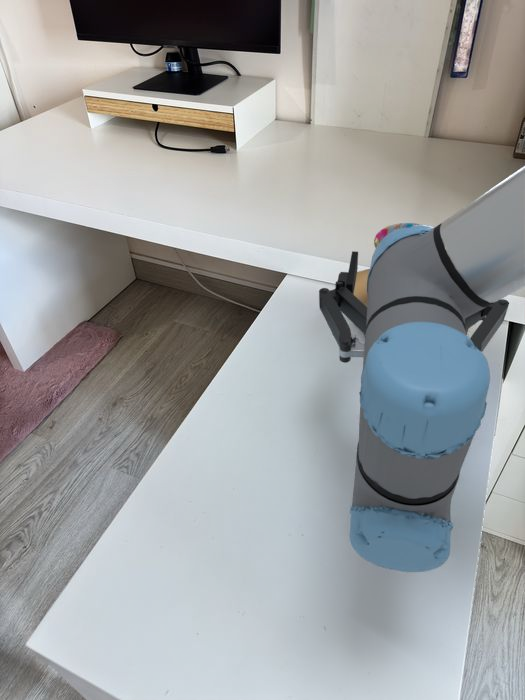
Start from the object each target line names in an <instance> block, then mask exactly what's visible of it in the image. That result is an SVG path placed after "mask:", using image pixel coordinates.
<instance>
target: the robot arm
mask: <svg viewBox="0 0 525 700" xmlns="http://www.w3.org/2000/svg"><path fill="white" fill-rule="evenodd" d="M358 266H359V251H353V250H352V251H351V255H350V261H349V267H348V271H340V272H339V273H338V275H337V276H338V277H337V281H335V283H334V284H335V287H334V289H329V288H326V287H322V288H320V289H319V290H318V301H319V302H318V303H319V304H318V305H319V310H320V312H321V314H322V316H323V318H324V320H325V322H326V323H327V325H328V328H329V329H330V331H331V334H332V336H333V337H334V340H335V342H336V344H337V345H338V348H339V349H338V350H339V351H338V353H339V355H338V356H339V357H338V358H339V362H341V363H345V364H347V363H349V362H350V361H351V360H352V358H363V360H362V361H363V363H362V372H361V376H360V391H359V422H358V442H357V447H356V461H355V468H354V469H355V470H354V481H353V482H354V483H353V492H352V501H351V505H350V507H349V514H350V524H349V541H350V545H351V547H352V549H353V550H354V551H355V553H356V554H357V555H358V556H359V557H361V558H362V559H364V560H365V561H366V562H369V563H370V564H372V565H375V566H377V567H379V568H383V569H387V570H391V571H397V572H403V573H424V572H429V571H432V570H436V569H438V568H439V567H441V566H443V565H444V564H446V562H447V560H448V559H449V557H450V554H451V539H452V538H451V537H452V530H453V529H454V523H453V522H452V517H451V507H452V506H451V505H452V499H453V495H454V493H455V490H456V488H457V484H458V481H459V479H460V475H461V474H460V473H461V470H462V467H463V465H464V462H465V460H466V457H467V455H468V452H469V449H470V447H471V444H472V442H473V439H474V437H475V435H476V432H477V431H478V430H479V429H480V428H481V425H482V419H483V418H484V417H485V415H486V410H487V404H488V403H487V397H488V393H489V388H490V383H491V370H490V365H489V362H488V359H487V357H486V355H485V354H484V353H483V352H484V350H485V349H486V347H487V346H488V344H489V343H490V342H491V340H492V339H493V337H494V336H495V334H496V333H497V331H498V330H499V328H500V327H501V326H502V324H503V323H504V321H505V318H506V315H507V312H508V309H509V305H510V302H509V301H508V300H507V299H504V298H505V297H507V296H510V295H512V294H513V293H516V292H517V291H519V290H521V289H523V288H524V287H525V165H524V166H523V167H521V168H520V169H518V170H517V171H515V172H514V173H512V174H510V175H509V176H507V178H505V179H504V180H502V181H500V182H499V183H498V184H496V185H494V186H493V187H492V188H490V189H489V190H487V191H486V192H485V193H483V194H482V195H480V196H478V197H477V198H476V199H474V200H473V201H471V202H470V203H469V204H466V205H465V206H464V207H463V208H461V209H460V210H458V211H457V212H456V213H454V214H453V215H451V216H449V217H448V218H447V219H445V220H444V221H442V222H441V223H439V224H438V225H436V226H435V227H434V226H429V225H426V224H425V225H424V224H421V225H413V226H411V227H405V228H399V229H397V230H394V231H393V232H391V233H389V234H388V235H387V236H385V237H384V238H383V239H382V240H381V242H380V243H379V244H378V245H377V247H376V248H375V249H374V251H373V254H372V257H371V260H370V267H369V269H370V270H369V273H368V278H367V294H368V301H367V307H366V306H365V305H364V304H363V303H362V302H361V301H360V300H359V299H358V298H357V297H356V296H355V295H353V294H354V288H355V282H356V275H357V272H358V268H359V267H358ZM345 317H346V318H347V319H348V320H349V321H350V322H351V323H352V324H353V325H354V326H355V327H356V328H357V329H358V330H359V331H360V332H361V333H362V334H363V335H364V343H362V342H360V340H359V338H357V335H356V334H354V333H352V330H351V327H350V325H349V323H348V321H347V320H346V318H345ZM479 322H481V323H480V324H479V325H478V327H477V328H476V329H475V330H474V332H473V334H471V336H470V337H469V336H468V334H467V335H466V330H467V329H468V330H469V329H470V328H472V327H474V326H475V325H477V324H478V323H479Z"/></svg>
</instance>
